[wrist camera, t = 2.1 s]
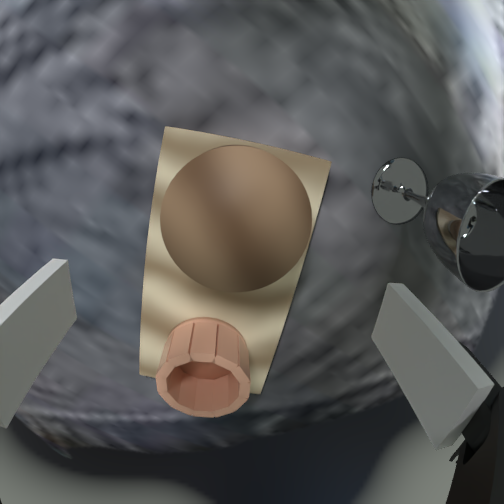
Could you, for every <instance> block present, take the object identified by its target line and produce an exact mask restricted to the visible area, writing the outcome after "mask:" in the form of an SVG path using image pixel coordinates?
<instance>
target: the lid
mask: <svg viewBox="0 0 504 504" xmlns="http://www.w3.org/2000/svg"><path fill="white" fill-rule="evenodd" d="M160 228H161V233H162V238H163V241H164V244H165V247H166V249H167V251H168V253H169V255H170V257H171V258H172V260H173V261H174V263H175V264H176V265H177V266H178V267H179V268H180V270H181V271H183V272H184V273H185V274H186V275H187V276H188V277H190V278H191V279H193V280H194V281H196V282H197V283H199V284H201V285H203V286H206V287H208V288H211V289H214V290H218V291H223V292H248V291H253V290H257V289H260V288H263V287H266V286H268V285H270V284H272V283H274V282H276V281H277V280H279V279H280V278H282V277H283V276H285V275H286V274H287V273H288V272H289V271H290V270H291V269H292V268H293V267H294V266H295V265H296V264H297V262H298V261H299V259H300V258H301V256H302V255H303V253H304V251H305V249H306V247H307V244H308V241H309V238H310V234H311V228H312V209H311V204H310V200H309V197H308V194H307V191H306V189H305V187H304V185H303V183H302V182H301V180H300V179H299V177H298V176H297V174H296V173H295V172H294V171H293V170H292V169H291V168H290V167H289V166H288V165H287V164H285V163H284V162H283V161H282V160H280V159H279V158H277V157H275V156H274V155H272V154H270V153H268V152H266V151H264V150H261V149H259V148H255V147H252V146H246V145H226V146H221V147H217V148H213V149H211V150H208V151H206V152H204V153H202V154H201V155H199V156H197V157H196V158H194V159H192V160H191V161H190V162H188V163H187V164H186V165H185V166H184V167H183V168H182V169H181V170H180V171H179V172H178V173H177V174H176V175H175V177H174V178H173V179H172V181H171V182H170V184H169V186H168V188H167V190H166V192H165V195H164V198H163V201H162V206H161V212H160Z"/></svg>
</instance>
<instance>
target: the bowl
mask: <svg viewBox="0 0 504 504" xmlns="http://www.w3.org/2000/svg"><path fill="white" fill-rule="evenodd" d="M156 383H157V390H158V392H159V394H160V395H161V397H162V398H163V399H164V400H165V401H166V402H167V403H168V404H169V405H170V406H172V408H174V409H177V410H179V411H181V412H183V413H186V414H188V415H190V416H191V415H192V414H193V416H197V417H212V418H214V416H215V417H219V416H222V415H226V414H229V413H232V412H234V410H235V411H236V410H237V409H239V408H240V407H241V406H242V405H243V404H244V403H245V402H246V401H247V400H248V398H249V393H250V384H251V380H250V367H249V354H248V349H247V345H246V342H245V339H244V337H243V336H242V334H241V333H240V332H239V331H238V330H237V329H236V328H235V327H234V326H232V325H231V324H229V323H227V322H225V321H223V320H220V319H216V318H211V317H196V318H191V319H188V320H185V321H183V322H181V323H179V324H178V325H177V326H175V327H174V328H173V329H172V331H171V332H170V334H169V335H168V338H167V341H166V342H165V344H164V348H163V351H162V355H161V358H160V362H159V366H158V369H157V373H156Z"/></svg>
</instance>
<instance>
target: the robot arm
mask: <svg viewBox="0 0 504 504" xmlns="http://www.w3.org/2000/svg"><path fill="white" fill-rule="evenodd" d="M76 319H77V316H76V310H75V305H74V299H73V293H72V287H71V280H70V273H69V265H68V260H62V259H52V260H51V261H49V262H48V263H47V264H46V265H45V266H43V267H42V268H41V269H40V270H39V271H38V272H36V273H35V274H34V275H33V276H32V277H31V278H29V279H28V280H27V281H26V282H25V283H24V284H23V285H21V286H20V287H19V288H18V289H17V290H16V291H15V292H14V293H13V294H12V295H10V296H9V297H8V298H7V299H6V300H5V301H4V302H3V303H2V304H1V305H0V426H1V427H4V428H7V427H8V425H9V423H10V421H11V419H12V418H13V416H14V414H15V412H16V411H17V409H18V407H19V406H20V404H21V402H22V401H23V399H24V397H25V396H26V394H27V392H28V391H29V389H30V387H31V386H32V384H33V383H34V381H35V379H36V378H37V376H38V375H39V373H40V372H41V370H42V368H43V367H44V365H45V364H46V362H47V361H48V359H49V358H50V356H51V355H52V353H53V352H54V350H55V349H56V347H57V346H58V344H59V343H60V341H61V340H62V339H63V337H64V336H65V334H66V333H67V331H68V330H69V329H70V327H71V326H72V324H73V323H74V322H75V320H76ZM371 338H372V340H373V341H374V343H375V345H376V346H377V348H378V350H379V351H380V353H381V355H382V356H383V358H384V360H385V361H386V363H387V365H388V366H389V368H390V370H391V371H392V373H393V375H394V377H395V378H396V380H397V382H398V383H399V385H400V387H401V389H402V390H403V392H404V394H405V396H406V397H407V399H408V401H409V403H410V405H411V406H412V408H413V410H414V412H415V413H416V415H417V417H418V419H419V420H420V423H421V424H422V426H423V428H424V430H425V432H426V434H427V435H428V437H429V439H430V441H431V443H432V445H433V447H434V448H435V450H439V449H442V448H445V447H448V446H451V445H453V444H454V442H455V441H456V440H457V438H458V437H459V436H460V435H461V433H462V434H463V436H464V437H465V440H464V442H463V443H462V444H461V445H460V447H459V448H458V449H457V450H456V452H455V453H454V454H453V455H452V457H451V458H450V460H449V461H453V460H454V458H455V457H456V456H458V455H459V456H458V460H457V461H456V463H457V465H456V469H455V473H454V477H453V480H452V484H451V488H450V491H449V495H448V498H447V501H446V504H504V387H501V386H500V385H499V384H498V383H497V381H496V380H495V379H494V378H493V377H492V375H491V374H490V373H489V372H488V371H487V370H486V368H485V367H484V366H483V365H482V364H480V361H479V360H478V359H477V358H475V357H474V355H473V353H472V352H471V351H470V350H469V349H468V348H467V347H466V346H464V345H463V344H462V343H460V342H459V341H457V340H456V339H455V338H454V337H453V336H452V335H451V333H450V332H449V331H448V330H447V329H446V328H445V327H444V326H443V325H442V324H441V323H440V321H439V320H438V319H437V318H436V317H435V316H434V315H433V314H432V313H431V312H430V311H429V310H428V309H427V308H426V307H425V306H424V305H423V304H422V303H421V302H420V300H419V299H418V298H417V297H416V296H415V295H414V294H413V293H412V292H411V291H410V290H409V289H408V288H407V287H406V286H405V285H404V284H403V283H388V284H387V288H386V291H385V295H384V298H383V301H382V305H381V308H380V311H379V314H378V318H377V321H376V324H375V327H374V330H373V333H372V336H371ZM0 504H2V503H1V500H0Z"/></svg>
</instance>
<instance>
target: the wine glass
mask: <svg viewBox="0 0 504 504" xmlns="http://www.w3.org/2000/svg"><path fill="white" fill-rule="evenodd" d="M371 193H372V202H373V205H374V208H375V210H376V212H377V213H378V214H379V216H380V217H381V218H382V219H384V220H385V221H387V222H389V223H392V224H405V223H408V222H410V221H412V220H413V219H415V218H416V217H417V216H418V215H419V214H420V213H421V211H422V210H423V208H424V213H423V227H424V233H425V236H426V239H427V241H428V243H429V245H430V247H431V249H432V250H433V252H434V253H435V254H436V256H437V257H438V259H439V260H440V261H441V262H442V264H443V265H444V266H445V267H446V268H447V269H448V270H449V271H450V272H451V273H452V274H453V275H455V276H456V277H457V278H458V279H459V280H460V281H461V282H463V283H464V284H465V285H467V286H468V287H469V288H471V289H473V290H475V291H477V292H489V291H492V290H494V289H496V288H498V287H500V286H501V285H502V284H504V178H502V177H499V176H495V175H490V174H486V173H460V174H455V175H452V176H449V177H447V178H445V179H443V180H442V181H441V182H439V183H438V184H437V185H436V187H435V188H434V189H433V190H432V191H431V193H430V195H429V196H428V181H427V178H426V175H425V173H424V171H423V170H422V168H421V167H420V166H419V165H418V164H417V163H416V162H414V161H412V160H410V159H407V158H396V159H392V160H390V161H388V162H387V163H385V164H384V165H383V166H382V167H381V168H380V169H379V171H378V172H377V174H376V176H375V178H374V181H373V184H372V191H371Z"/></svg>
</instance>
